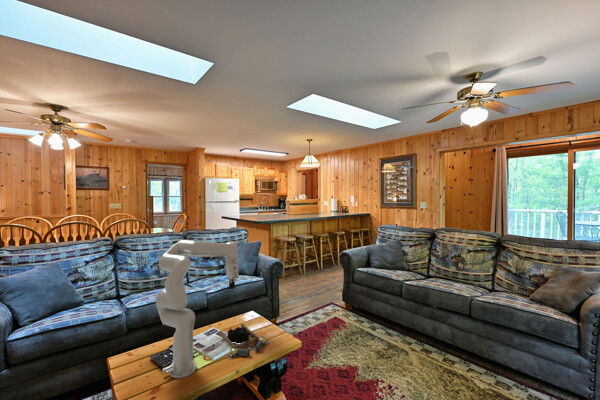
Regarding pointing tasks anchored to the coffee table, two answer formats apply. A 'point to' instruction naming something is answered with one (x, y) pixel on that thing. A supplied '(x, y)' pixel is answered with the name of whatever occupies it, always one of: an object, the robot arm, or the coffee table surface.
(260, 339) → the lever right
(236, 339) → the film camera
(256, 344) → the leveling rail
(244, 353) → the lever left
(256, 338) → the dock
